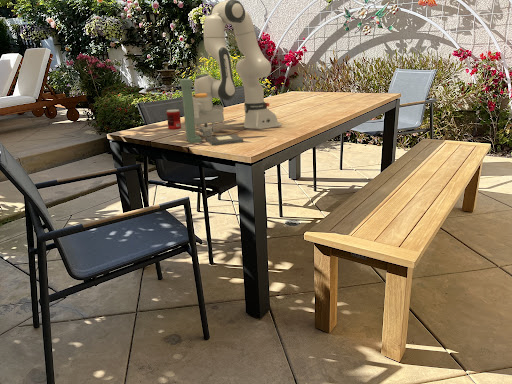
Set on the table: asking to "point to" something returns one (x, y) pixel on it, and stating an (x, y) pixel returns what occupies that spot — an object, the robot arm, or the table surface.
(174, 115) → the canned food
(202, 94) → the ram
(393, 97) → the table surface
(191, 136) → the frame
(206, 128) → the housing
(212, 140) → the plate
